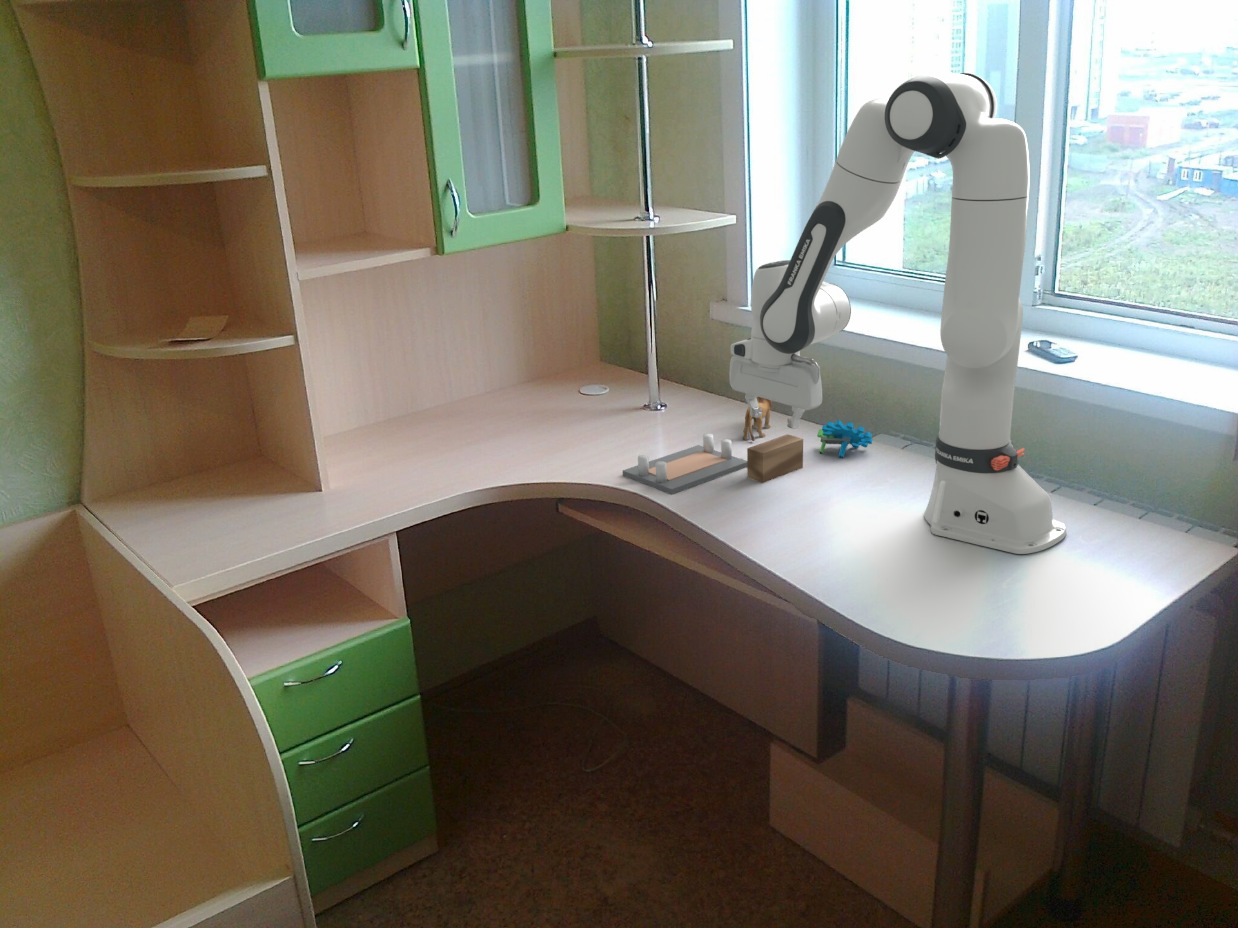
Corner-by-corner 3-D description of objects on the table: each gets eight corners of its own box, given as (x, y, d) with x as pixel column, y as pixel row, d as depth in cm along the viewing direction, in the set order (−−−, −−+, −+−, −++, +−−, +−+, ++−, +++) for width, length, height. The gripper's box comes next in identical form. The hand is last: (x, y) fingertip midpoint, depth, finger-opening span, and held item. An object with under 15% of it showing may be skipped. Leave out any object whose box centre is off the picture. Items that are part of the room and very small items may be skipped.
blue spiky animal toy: (881, 442, 215) (861, 418, 208) (874, 469, 213) (854, 445, 206) (831, 441, 222) (810, 416, 215) (823, 466, 220) (802, 443, 213)
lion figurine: (748, 421, 237) (748, 381, 234) (772, 421, 236) (773, 381, 233) (741, 443, 224) (741, 401, 220) (767, 444, 222) (767, 401, 219)
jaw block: (802, 468, 209) (803, 438, 207) (763, 483, 202) (763, 453, 200) (787, 463, 212) (787, 434, 210) (747, 478, 205) (747, 448, 203)
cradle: (748, 466, 211) (748, 444, 209) (671, 494, 199) (671, 471, 197) (698, 449, 221) (698, 428, 219) (622, 475, 209) (621, 453, 208)
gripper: (831, 356, 193) (828, 430, 198) (747, 337, 208) (747, 407, 213) (807, 363, 189) (805, 438, 194) (723, 344, 204) (724, 414, 209)
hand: (774, 422), depth 204 cm, fingers open, 8 cm apart
